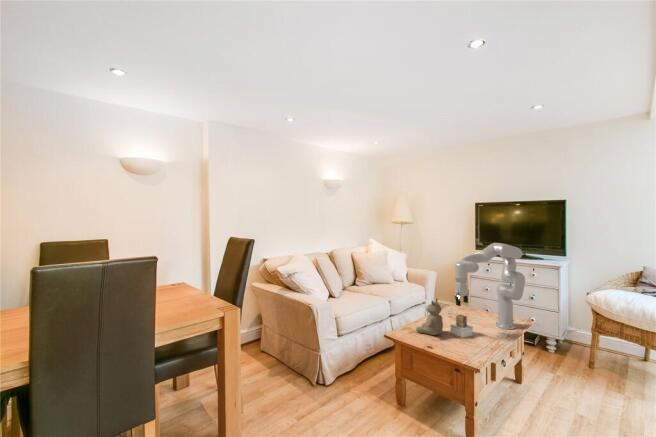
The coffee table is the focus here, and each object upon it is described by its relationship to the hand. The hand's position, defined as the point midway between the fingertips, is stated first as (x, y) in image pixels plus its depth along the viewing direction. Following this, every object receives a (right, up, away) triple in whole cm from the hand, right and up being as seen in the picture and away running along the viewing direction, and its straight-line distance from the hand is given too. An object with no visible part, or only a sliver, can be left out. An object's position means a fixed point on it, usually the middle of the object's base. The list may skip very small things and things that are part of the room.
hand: (462, 304), depth 211 cm
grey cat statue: (-22, -22, +3) cm, 31 cm away
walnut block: (0, -16, 0) cm, 16 cm away
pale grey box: (0, -22, 0) cm, 22 cm away
